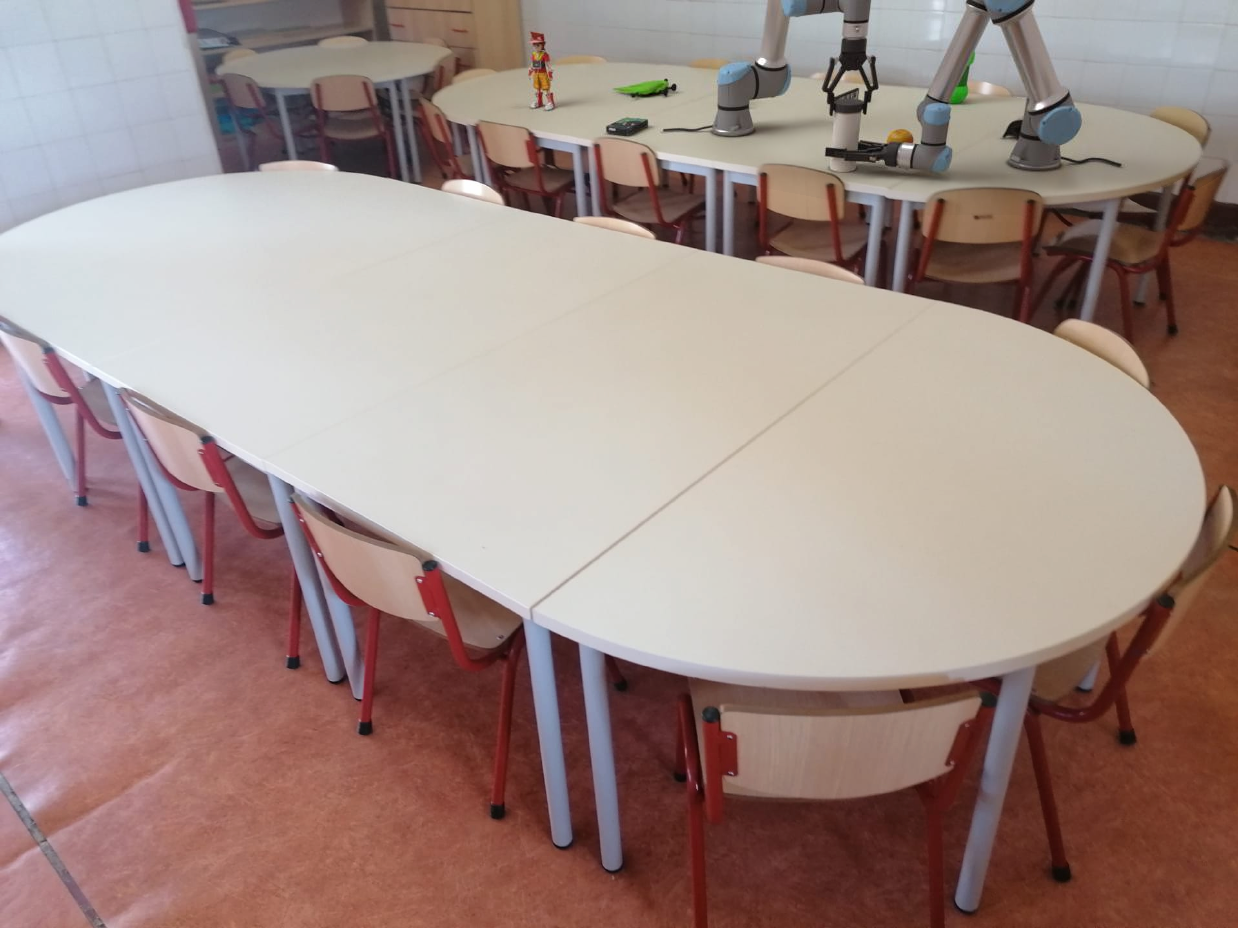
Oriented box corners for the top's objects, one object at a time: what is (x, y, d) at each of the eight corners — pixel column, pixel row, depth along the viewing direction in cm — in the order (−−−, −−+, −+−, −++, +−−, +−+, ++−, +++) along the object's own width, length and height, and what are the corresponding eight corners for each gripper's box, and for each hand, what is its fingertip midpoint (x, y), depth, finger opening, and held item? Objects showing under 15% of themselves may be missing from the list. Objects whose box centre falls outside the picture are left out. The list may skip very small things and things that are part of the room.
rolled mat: (1032, 109, 328) (1056, 91, 320) (1046, 130, 329) (1070, 113, 320) (998, 131, 311) (1023, 113, 303) (1012, 153, 311) (1038, 136, 303)
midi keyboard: (835, 110, 353) (837, 97, 350) (833, 110, 354) (834, 97, 351) (858, 101, 363) (859, 88, 361) (855, 101, 364) (856, 88, 361)
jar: (832, 163, 298) (837, 100, 286) (857, 165, 295) (863, 101, 284) (828, 171, 292) (833, 107, 280) (853, 172, 289) (860, 108, 278)
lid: (828, 111, 283) (828, 103, 281) (842, 105, 288) (843, 97, 287) (853, 114, 278) (854, 106, 276) (867, 108, 283) (868, 100, 282)
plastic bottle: (973, 101, 354) (984, 32, 339) (955, 106, 349) (966, 36, 335) (952, 97, 361) (962, 29, 346) (934, 102, 356) (944, 33, 342)
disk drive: (628, 136, 338) (648, 126, 348) (628, 129, 337) (648, 118, 347) (605, 134, 343) (625, 123, 353) (605, 126, 341) (625, 116, 351)
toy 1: (525, 109, 381) (517, 32, 364) (534, 104, 388) (527, 28, 371) (550, 110, 377) (543, 32, 360) (559, 105, 384) (553, 28, 367)
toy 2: (686, 85, 398) (631, 84, 414) (685, 72, 395) (629, 72, 411) (651, 104, 381) (596, 103, 397) (650, 92, 378) (594, 91, 394)
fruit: (881, 143, 301) (896, 121, 298) (883, 146, 309) (897, 125, 306) (901, 157, 300) (917, 135, 297) (903, 159, 308) (918, 138, 305)
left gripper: (818, 41, 269) (813, 118, 281) (894, 38, 267) (885, 115, 280) (815, 37, 275) (810, 113, 288) (889, 33, 273) (881, 110, 286)
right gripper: (888, 176, 277) (818, 169, 287) (907, 158, 291) (840, 151, 301) (891, 152, 273) (819, 145, 283) (910, 134, 287) (842, 128, 297)
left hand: (847, 114), depth 284 cm, fingers open, 10 cm apart
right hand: (830, 148), depth 292 cm, fingers closed on jar, 8 cm apart
